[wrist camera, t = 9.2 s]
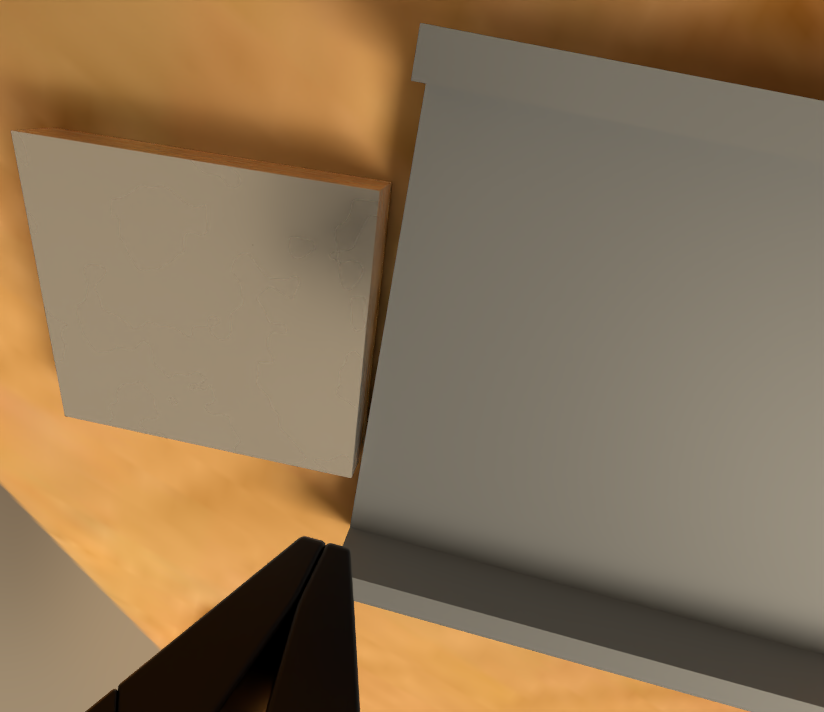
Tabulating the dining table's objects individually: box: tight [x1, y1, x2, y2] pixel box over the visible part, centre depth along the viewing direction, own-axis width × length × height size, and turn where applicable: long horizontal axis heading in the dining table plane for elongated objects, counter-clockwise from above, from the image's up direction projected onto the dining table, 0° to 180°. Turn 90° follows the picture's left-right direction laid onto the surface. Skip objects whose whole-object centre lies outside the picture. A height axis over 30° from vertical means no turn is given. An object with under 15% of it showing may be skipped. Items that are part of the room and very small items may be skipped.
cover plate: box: [11, 127, 392, 478], centre depth 17 cm, size 10×9×2 cm
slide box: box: [343, 23, 824, 712], centre depth 15 cm, size 18×16×3 cm
